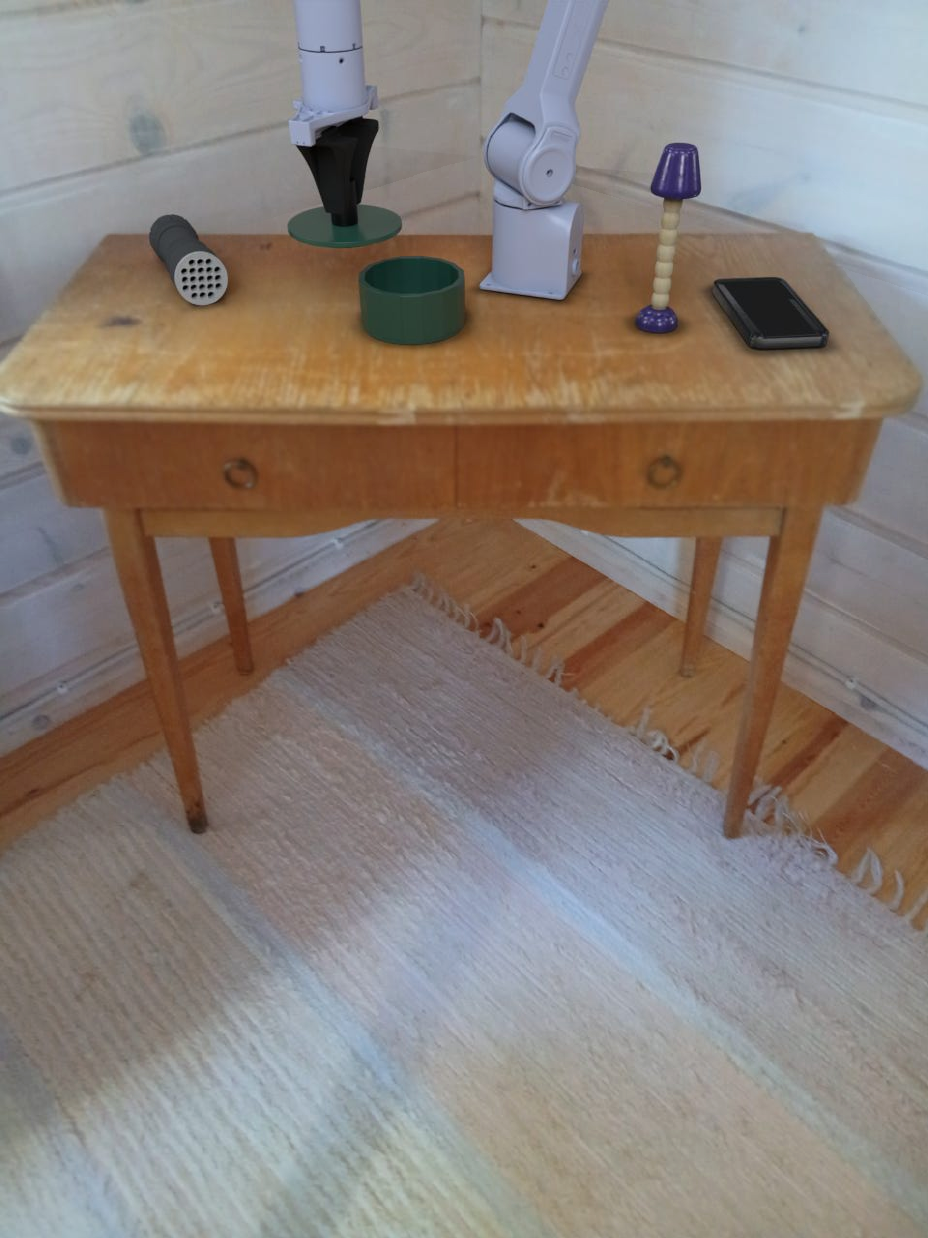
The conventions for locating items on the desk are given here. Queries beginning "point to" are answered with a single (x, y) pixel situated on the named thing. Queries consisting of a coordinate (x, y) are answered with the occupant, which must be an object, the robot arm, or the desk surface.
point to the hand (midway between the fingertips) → (343, 207)
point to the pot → (412, 299)
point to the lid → (345, 225)
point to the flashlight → (188, 260)
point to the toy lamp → (669, 228)
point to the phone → (769, 313)
